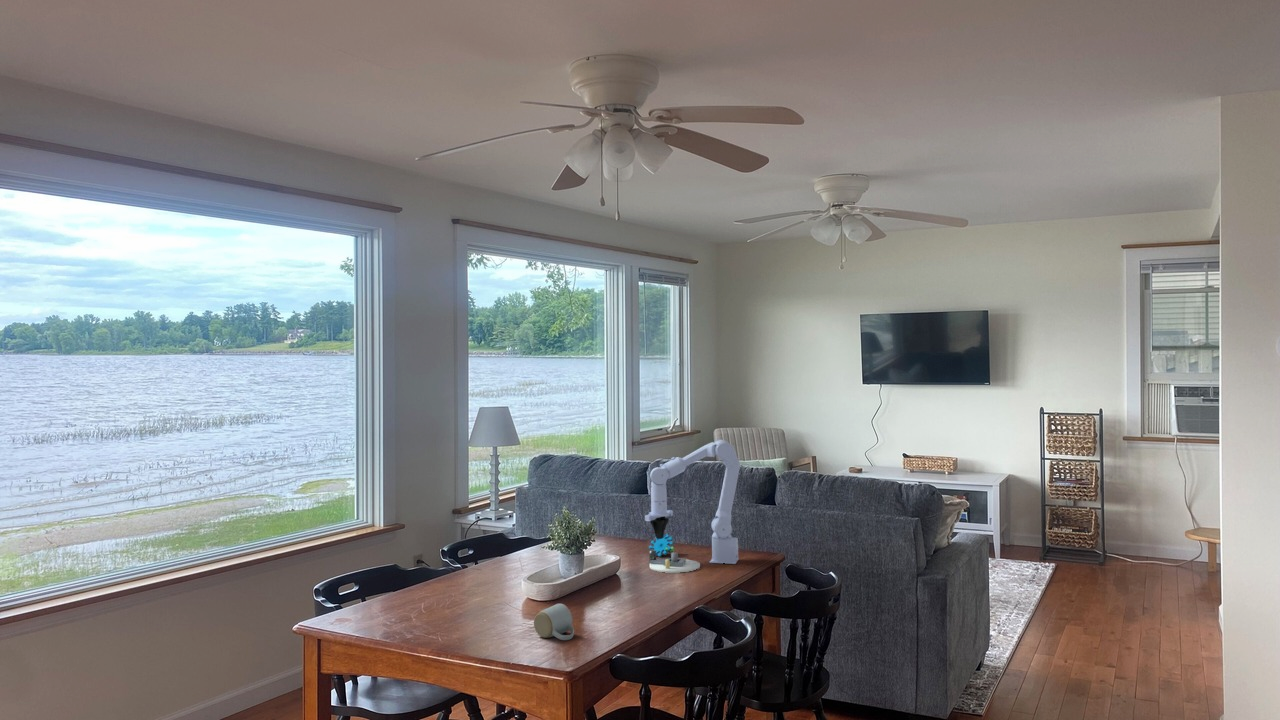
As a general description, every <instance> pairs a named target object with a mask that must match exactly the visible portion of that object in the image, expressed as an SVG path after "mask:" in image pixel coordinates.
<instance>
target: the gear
mask: <svg viewBox="0 0 1280 720" xmlns="http://www.w3.org/2000/svg"><path fill="white" fill-rule="evenodd" d="M654 539H655V540H651V541H650V544H651V545H649V546H648V549H649V550H655V551H656V556H657V557H659V558H662V554H663V555H664V556H666V555H667V554H671V553H674V551H675V547H674V541H673V537H672V536H669V534H668V533H667V534H664V535H663V538H662V539H657V538H656V536H655V537H654ZM652 545H653V546H652ZM669 545H670V546H669Z"/></svg>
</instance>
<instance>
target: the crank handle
mask: <svg viewBox="0 0 1280 720" xmlns="http://www.w3.org/2000/svg"><path fill="white" fill-rule="evenodd" d="M666 559H669V563H670V566H683V565H684V564H685V563H686V559H687V558H682V557H678V561H671V557H666V558H657V555H656V551H655V550H654V549H649V564H650V563H655V564H663V565H666V563H665V560H666Z"/></svg>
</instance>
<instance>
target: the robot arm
mask: <svg viewBox="0 0 1280 720" xmlns="http://www.w3.org/2000/svg"><path fill="white" fill-rule="evenodd" d="M715 456H716V457H717V458H719V459H720V460H721V462H722V463H723V465H724V466H725V471H724V476H723V481H722V482H723V483H722V487H721V491H720V492H721V493H720V497H719V502H718V508H717V509H716V512H715V516H714V518H713V519H712V521H711V523H710V525H711V526H710V527H711V530H712V531H713V533H712V535H711V554H712V556H711V559H710V561H709V564H723V563H725V564H726V565H727V564H728V565H729V564H731V565H736V564H737V563H738V561H739V541H738V540H739V539H738V537H733V536H732V532H733V527H732V509H733V506H734V500H735V495H736V490H737V484H738V478H739V473H740V468H741V462H740V460H739V457H738V456H737V452H736V449H735V448H734V447H733V445H731V443H729V442H728V441H726V440H725V439H716V440H714V441H712V442H709V443H707V444H704V445H703V446H701V447H699V448H698V449H696V450H694V451H693V452H690V453H689V454H687V455H685V456H683V457H681V456H680V457H679V456H677V457H674V456H673V457H671V458H670V460H669V461H667V462H665V463H661V464H659V466H658V467H654V468H653V469H651V471H650V474H649V478H650V480H651V483H650V486H651V487H650V510H651V511H650V512H648V514H646V515H644V521H645V522H650V524H651V526H652V528H653V531H654V534H655V537H656V538H657V539H658V540H659V539H663V535H664V536H665V530H666V529H667V525H668V522H669V521H670V520H669V518H668V517H673V516H674V510H671V509H668V496H667V495H668V494H667V493H668V491H667V481H668V479H669V480H670V479H672V478H674V477H676V476H678V475H680V474H681V473H683V472H685V471H686V469H687V466H690V465H691V464H694V463H696V462H698V461H700V460H702V459H705V458H706V457H709V458H715ZM725 564H724V565H725Z"/></svg>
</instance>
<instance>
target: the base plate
mask: <svg viewBox="0 0 1280 720" xmlns="http://www.w3.org/2000/svg"><path fill="white" fill-rule="evenodd" d="M670 558H671V561H678V558H679V553H678V552H674V553H670ZM665 559H666V560H665V563H666V565H663V564H655V563H649V569H650V570H651V571H654V572H656V571H657V573H662V572H665V574H681V573H680V572H686V573H690V572H689V571H692V572H694V571H693V570H696V569H698V568H699V569H701V563H700V562H699V561H696V560H692V559H687V558H685V559H686V563H685V564H684V565H683V566H670V563H669V559H667V558H665ZM699 569H698V570H699ZM696 571H697V570H696Z"/></svg>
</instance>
